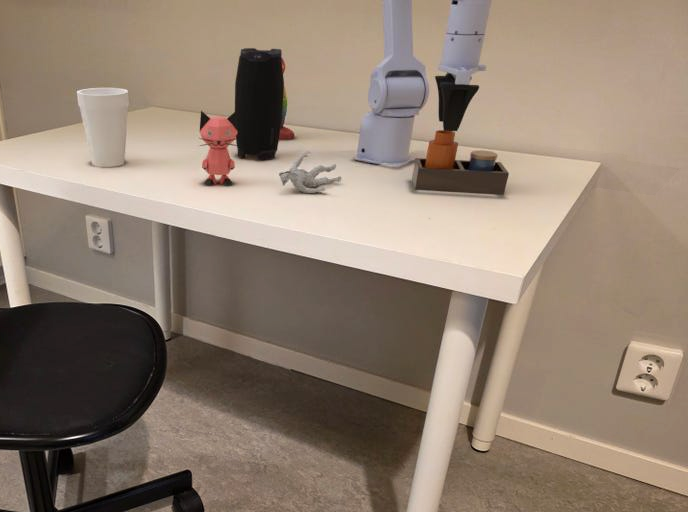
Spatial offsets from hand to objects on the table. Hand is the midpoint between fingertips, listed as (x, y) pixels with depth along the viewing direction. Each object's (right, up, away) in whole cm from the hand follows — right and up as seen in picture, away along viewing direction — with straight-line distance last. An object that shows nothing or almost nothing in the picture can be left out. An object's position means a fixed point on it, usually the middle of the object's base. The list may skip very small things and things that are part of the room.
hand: (447, 125), depth 105 cm
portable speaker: (-30, +3, +24) cm, 38 cm away
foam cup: (-59, 0, +19) cm, 62 cm away
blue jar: (+6, -9, +3) cm, 11 cm away
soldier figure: (-22, -9, +4) cm, 24 cm away
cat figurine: (-38, -7, +7) cm, 39 cm away
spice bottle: (0, -8, +4) cm, 9 cm away
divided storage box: (+3, -10, +4) cm, 11 cm away
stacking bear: (-26, +12, +40) cm, 50 cm away
